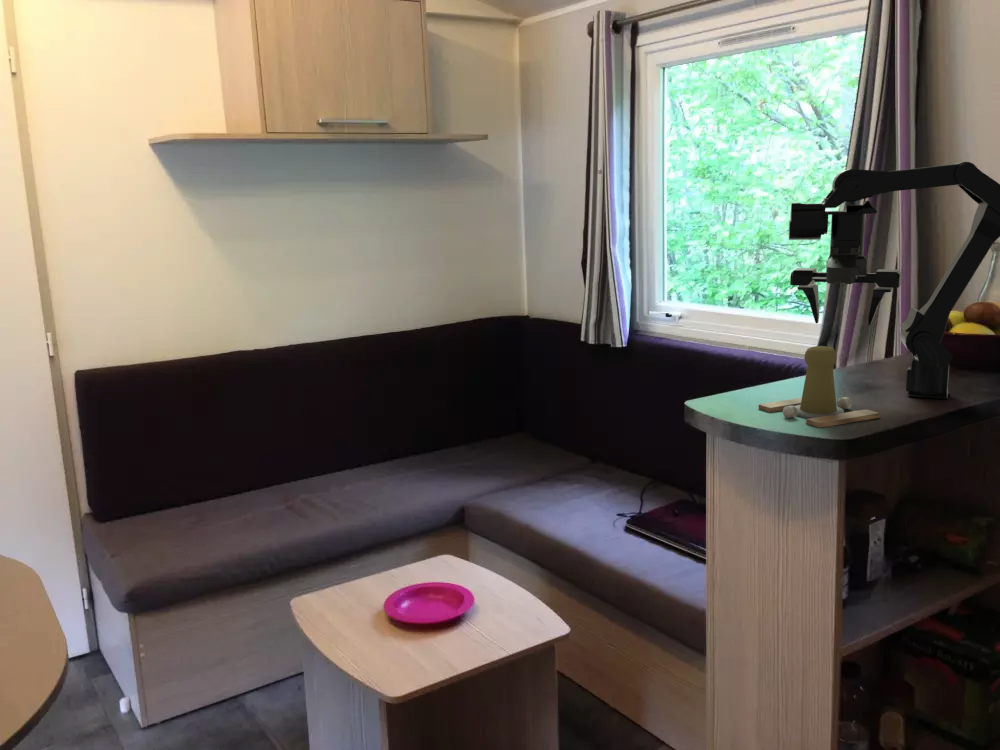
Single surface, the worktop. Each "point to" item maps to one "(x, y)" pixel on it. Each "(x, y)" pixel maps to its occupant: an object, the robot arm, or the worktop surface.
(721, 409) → the worktop surface
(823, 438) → the worktop surface
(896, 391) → the worktop surface
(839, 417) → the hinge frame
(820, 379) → the cork
